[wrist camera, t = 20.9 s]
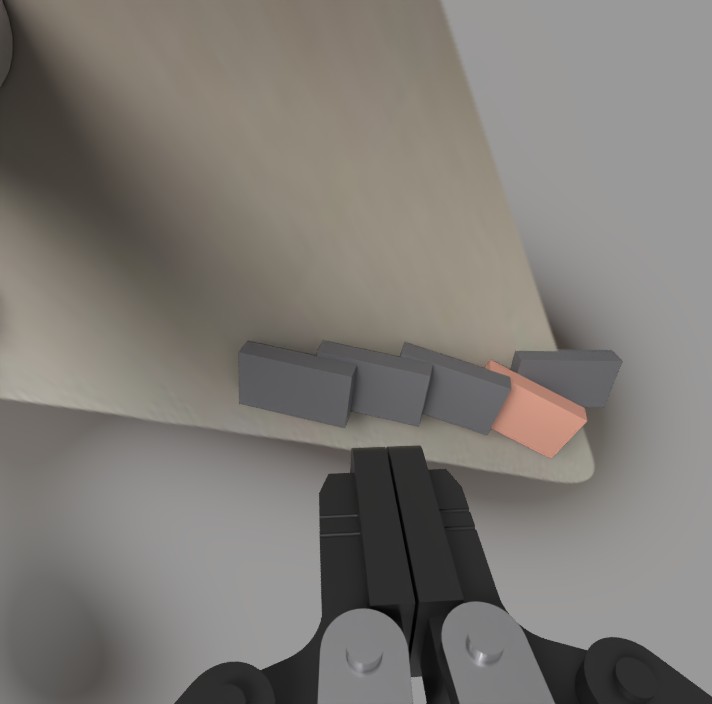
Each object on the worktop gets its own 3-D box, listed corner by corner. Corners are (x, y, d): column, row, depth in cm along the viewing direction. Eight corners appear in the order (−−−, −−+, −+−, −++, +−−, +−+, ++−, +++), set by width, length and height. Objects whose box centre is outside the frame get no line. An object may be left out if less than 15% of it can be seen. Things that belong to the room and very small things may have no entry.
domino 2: (312, 401, 43) (418, 426, 42) (317, 351, 41) (430, 376, 39) (318, 389, 45) (421, 413, 44) (323, 340, 42) (432, 364, 41)
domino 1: (239, 403, 43) (345, 428, 41) (238, 352, 40) (351, 377, 39) (247, 391, 44) (350, 414, 43) (247, 341, 41) (356, 364, 40)
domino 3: (384, 400, 44) (487, 435, 43) (402, 352, 41) (511, 389, 41) (388, 389, 45) (487, 422, 45) (404, 342, 43) (510, 376, 42)
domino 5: (459, 412, 45) (551, 458, 45) (490, 371, 42) (587, 421, 42) (461, 400, 47) (549, 445, 47) (490, 359, 44) (584, 407, 44)
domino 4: (508, 407, 46) (603, 407, 47) (521, 360, 43) (622, 361, 44) (501, 395, 47) (594, 395, 48) (513, 348, 45) (612, 349, 46)
